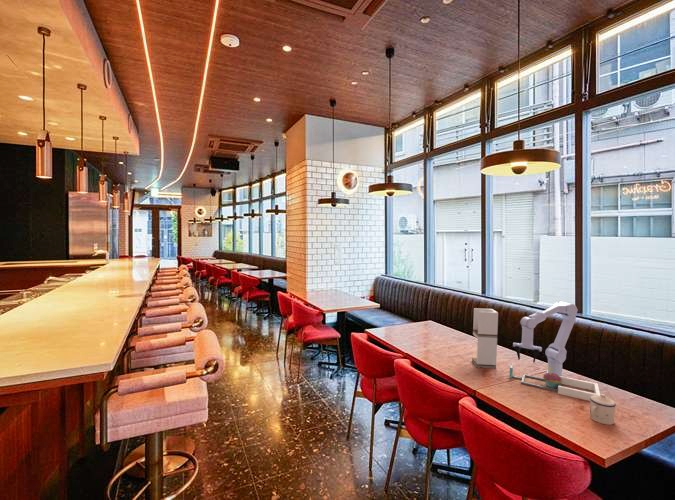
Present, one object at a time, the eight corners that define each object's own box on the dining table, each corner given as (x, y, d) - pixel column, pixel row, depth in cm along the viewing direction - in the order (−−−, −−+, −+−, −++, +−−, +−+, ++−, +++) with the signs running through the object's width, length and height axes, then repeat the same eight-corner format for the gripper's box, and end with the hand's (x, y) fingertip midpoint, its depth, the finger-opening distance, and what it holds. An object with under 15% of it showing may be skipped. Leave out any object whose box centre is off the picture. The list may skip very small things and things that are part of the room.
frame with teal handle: (511, 373, 203) (511, 363, 202) (561, 383, 189) (561, 373, 189) (508, 380, 192) (508, 370, 192) (560, 392, 178) (561, 381, 178)
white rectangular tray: (558, 382, 191) (558, 375, 191) (597, 390, 182) (597, 383, 181) (557, 394, 177) (558, 386, 177) (600, 403, 168) (600, 395, 167)
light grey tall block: (490, 362, 221) (492, 308, 220) (496, 368, 211) (498, 312, 209) (472, 361, 222) (473, 308, 221) (477, 367, 212) (479, 311, 210)
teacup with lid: (597, 412, 159) (598, 388, 158) (619, 423, 150) (620, 397, 150) (580, 417, 154) (581, 392, 153) (602, 428, 146) (604, 402, 145)
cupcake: (549, 389, 182) (550, 368, 181) (539, 383, 190) (540, 362, 190) (565, 389, 182) (566, 367, 182) (554, 382, 191) (555, 362, 190)
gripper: (512, 337, 199) (511, 360, 199) (541, 341, 191) (540, 365, 191) (514, 334, 204) (513, 356, 205) (542, 338, 196) (541, 361, 197)
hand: (526, 360), depth 199 cm, fingers open, 7 cm apart
